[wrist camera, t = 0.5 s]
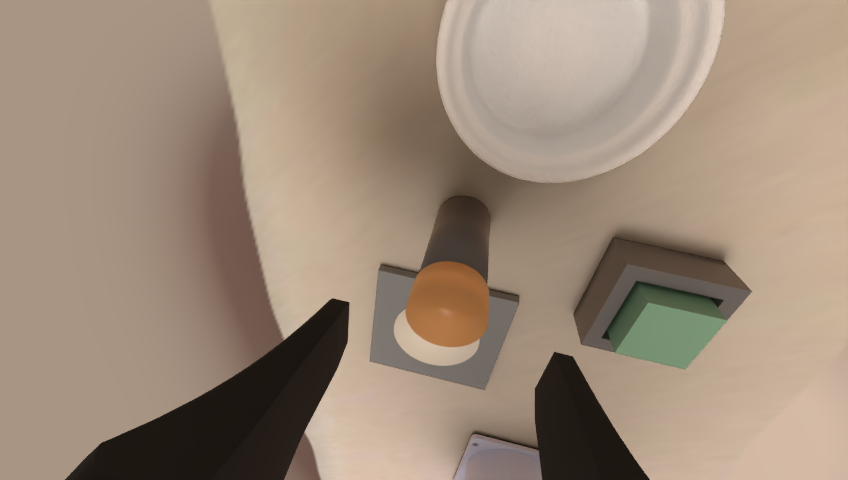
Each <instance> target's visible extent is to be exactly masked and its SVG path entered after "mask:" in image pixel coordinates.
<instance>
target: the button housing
mask: <svg viewBox="0 0 848 480" xmlns="http://www.w3.org/2000/svg"><path fill="white" fill-rule="evenodd" d="M636 281H641V282H645V283H650V284H654V285H659V286H663V287H668V288H672V289H677V290H681V291H686V292H690V293H695V294H699V295H704V296H708V297H710V298H711V300H712V301H713V302H714V303H715V305H716V306H717V307H718V309H719V310H720V311H721V313H722V314H723V315H724V317H725V318H726V319H727V320H728V319H729V318H730V316H731V315H732V314H733V313H734V312H735V311H736V309H737V308H738V307H739V306H740V305H741V304H742V302H743V301H744V300H745V299H746V298H747V297H748V296H749V294H750V293H751V292H752V291H751V290H750V289H749V288H748V287H747V286H746V284H745V283H744V282H743V281H742V280H741V279H740V278H739V277H738V276H737V275H736V274H735V273H734V272H733V271H732V269H731V268H730V267H729V266H728V265H727V264H726V263H725V262H724V261H720V260H715V259H711V258H706V257H701V256H697V255H692V254H687V253H683V252H678V251H673V250H669V249H664V248H659V247H655V246H650V245H645V244H641V243H636V242H631V241H627V240H622V239H617V238H613V239H612V241H611V243H610V245H609V247H608V249H607V251H606V253H605V255H604V257H603V259H602V261H601V262H600V264H599V266H598V268H597V270H596V272H595V274H594V276H593V278H592V280H591V282H590V284H589V285H588V287H587V289H586V291H585V293H584V295H583V297H582V299H581V301H580V303H579V305H578V306H577V308H576V310H575V312H574V318H575V322H576V326H577V330H578V334H579V338H580V342H581V344H582V345H586V346H590V347H594V348H598V349H603V350H607V351H611V352H614V349H613V346H612V343H611V341H610V338H609V335H608V332H607V328H608V326H609V325H610V323H611V321H612V320H613V318H614V316H615V315H616V313H617V311H618V310H619V308H620V307H621V305H622V303H623V302H624V300H625V298H626V297H627V295H628V294H629V292H630V290H631V289H632V287H633V285H634V284H635V282H636Z"/></svg>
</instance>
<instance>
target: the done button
mask: <svg viewBox="0 0 848 480" xmlns="http://www.w3.org/2000/svg"><path fill="white" fill-rule="evenodd" d="M726 322H727V319H726V318H725V317H724V315H723V314H722V313H721V311H720V310H719V309H718V307H717V306H716V305H715V303H714V302H713V301H712V300H711V298H710V297H708V296H704V295H699V294H695V293H690V292H686V291H681V290H677V289H672V288H668V287H663V286H659V285H654V284H650V283H645V282H641V281H636V282H635V284H634V285H633V287H632V289H631V290H630V292H629V294H628V295H627V297H626V298H625V300H624V302H623V303H622V305H621V307H620V308H619V310H618V311H617V313H616V315H615V316H614V318H613V320H612V321H611V323H610V325H609V326H608V328H607V332H608V335H609V338H610V341H611V343H612V346H613V349H614V352H615V353H618V354H622V355H626V356H630V357H634V358H639V359H643V360H647V361H651V362H656V363H660V364H664V365H668V366H672V367H677V368H681V369H686V368H687V367H688V366H689V364H690V363H691V362H692V361H693V360H694V359H695V357H696V356H697V355H698V354H699V353H700V352H701V351H702V349H703V348H704V347H705V346H706V345H707V344H708V342H709V341H710V340H711V339H712V338H713V337H714V335H715V334H716V333H717V332H718V331H719V330H720V328H721V327H722V326H723V325H724V324H725V323H726Z"/></svg>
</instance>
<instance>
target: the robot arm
mask: <svg viewBox="0 0 848 480" xmlns="http://www.w3.org/2000/svg"><path fill="white" fill-rule="evenodd" d="M348 322H349V302H346V301H341V300H337V299H331V300H329V301H328V302H327V303H326V304H325V305H324V306H323V307H322V308H321V309H320V310H319V311H318V312H317V313H316V314H314V315H313V316H312V317H311V318H310V319H309V320H308V321H307V322H305V323H304V324H303V325H302V326H301V327H300V328H298V329H297V330H296V331H295V332H294V333H292V334H291V335H290V336H289V337H288V338H286V339H285V340H284V341H283V342H281V343H280V344H279V345H277V346H276V347H275V348H274V349H272V350H271V351H269V352H268V353H267V354H266V355H264V356H263V357H261V358H260V359H259V360H257V361H256V362H254V363H253V364H251V365H250V366H249V367H247V368H246V369H244V370H243V371H241V372H239V373H238V374H236V375H235V376H233V377H232V378H230V379H228V380H227V381H225V382H223V383H222V384H220V385H218V386H217V387H215V388H213V389H212V390H210V391H208V392H206V393H205V394H203V395H201V396H200V397H198V398H196V399H194V400H192V401H190V402H188V403H186V404H184V405H182V406H180V407H178V408H176V409H174V410H172V411H170V412H169V413H167V414H165V415H163V416H161V417H159V418H157V419H154V420H152V421H150V422H148V423H146V424H144V425H141V426H139V427H137V428H135V429H132V430H130V431H128V432H126V433H123V434H121V435H119V436H116V437H114V438H112V439H110V440H107V441H105V442H102V443H101V444H100V445H99V446H98V447H97V448H96V449H95V450H94V451H93V452H91V453H90V454H89V455H88V456H87V457H86V458H85V459H84V460H83V461H82V462H81V463H80V464H79V465H78V467H77V468H76V469H75V470H74V471H73V472H72V473H71V474H70V475H69V476H68V477H67V478H66V479H65V480H284V478H285V476H286V473H287V471H288V468H289V466H290V464H291V461H292V459H293V456H294V454H295V452H296V449H297V447H298V444H299V442H300V440H301V438H302V435H303V434H304V431H305V429H306V427H307V425H308V423H309V422H310V420H311V418H312V416H313V414H314V412H315V410H316V408H317V406H318V404H319V403H320V401H321V399H322V397H323V395H324V393H325V391H326V389H327V387H328V385H329V383H330V382H331V380H332V378H333V376H334V374H335V372H336V370H337V368H338V365H339V363H340V360H341V358H342V355H343V352H344V350H345V347H346V345H347V342H348ZM535 424H536V433H537V441H538V450H536V449H532V448H529V447H525V446H521V445H517V444H513V443H509V442H505V441H502V440H498V439H494V438H490V437H486V436H482V435H478V434H474V435H472V436H471V438H470V440H469V443H468V445H467V448H466V450H465V452H464V455H463V457H462V460H461V462H460V465H459V467H458V470H457V472H456V474H455V477H454V479H453V480H650V479H649V478H648V477H647V475H646V474H645V473H644V471H643V470H642V469H641V467H640V466H639V464H638V463H637V462H636V460H635V459H634V457H633V456H632V454H631V453H630V451H629V450H628V448H627V447H626V445H625V444H624V442H623V441H622V439H621V438H620V436H619V435H618V433H617V432H616V430H615V428H614V427H613V425H612V424H611V422H610V420H609V419H608V417H607V415H606V414H605V412H604V410H603V409H602V407H601V405H600V404H599V402H598V400H597V399H596V397H595V395H594V393H593V392H592V390H591V388H590V386H589V385H588V383H587V381H586V379H585V377H584V376H583V374H582V372H581V370H580V368H579V367H578V365H577V363H576V361H575V360H574V358H573V356H569V355H564V354H560V353H556V352H554V354H553V356H552V358H551V360H550V361H549V363H548V365H547V367H546V369H545V371H544V373H543V375H542V377H541V378H540V380H539V382H538V384H537V386H536V388H535Z"/></svg>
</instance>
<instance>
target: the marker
mask: <svg viewBox="0 0 848 480" xmlns="http://www.w3.org/2000/svg"><path fill="white" fill-rule="evenodd" d="M489 232H490V215H489V212H488V210H487V208H486V207H485V206H484V204H483V203H481V202H480V201H479V200H477V199H475V198H473V197H469V196H457V197H453V198H451V199H449V200H447V201H446V202H445V203H444V204H443V205H442V206H441V208H440V209H439V212H438V215H437V218H436V221H435V224H434V228H433V231H432V234H431V237H430V240H429V244H428V247H427V250H426V253H425V256H424V260H423V263H422V266H421V269H420V272H419V273H418V275H417V276H416V278H415V280H414V283H413V287H412V290H411V293H410V296H409V299H408V302H407V305H406V312H405V313H406V319H407V322H408V324H409V326H410V327H411V329H412V330H413V331H414V332H415V333H416V334H417V335H418V336H420V337H421V338H422V339H424V340H426V341H428V342H430V343H432V344H435V345H439V346H443V347H461V346H466V345H469V344H471V343H474V342H475V341H477V340H478V339H479V338H481V337H482V336H483V334H484V333H485V331H486V329H487V327H488V319H489V288H488V285H487V279H488V256H489Z"/></svg>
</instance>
